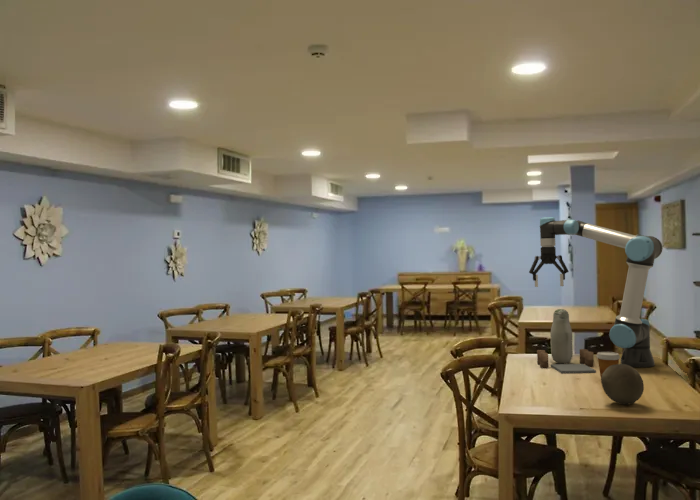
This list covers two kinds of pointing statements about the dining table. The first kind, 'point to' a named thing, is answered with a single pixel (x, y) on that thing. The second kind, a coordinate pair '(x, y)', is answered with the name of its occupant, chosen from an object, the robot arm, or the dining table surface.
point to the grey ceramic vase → (561, 337)
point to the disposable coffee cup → (607, 360)
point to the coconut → (622, 384)
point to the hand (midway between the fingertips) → (549, 286)
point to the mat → (572, 368)
